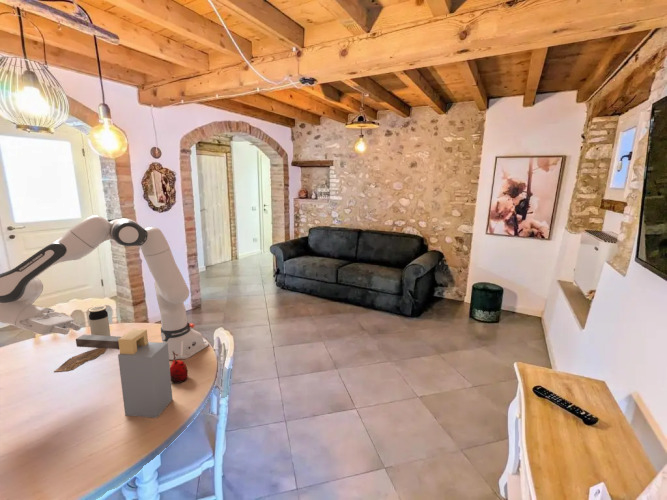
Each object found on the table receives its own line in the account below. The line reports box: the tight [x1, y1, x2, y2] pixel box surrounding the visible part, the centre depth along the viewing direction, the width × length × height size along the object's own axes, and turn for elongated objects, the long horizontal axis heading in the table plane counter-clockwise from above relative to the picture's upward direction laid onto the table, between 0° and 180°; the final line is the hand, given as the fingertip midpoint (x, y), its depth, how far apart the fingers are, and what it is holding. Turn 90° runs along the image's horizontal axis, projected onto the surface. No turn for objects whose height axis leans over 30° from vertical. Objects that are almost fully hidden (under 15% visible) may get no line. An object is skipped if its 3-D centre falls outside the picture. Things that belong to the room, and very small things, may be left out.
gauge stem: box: [75, 334, 122, 350], centre depth 117 cm, size 20×4×3 cm, turn 86°
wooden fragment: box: [53, 348, 108, 373], centre depth 153 cm, size 26×11×1 cm, turn 163°
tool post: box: [117, 328, 173, 419], centre depth 118 cm, size 12×10×30 cm
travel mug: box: [88, 305, 111, 336], centre depth 168 cm, size 8×8×18 cm
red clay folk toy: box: [170, 351, 189, 384], centre depth 137 cm, size 8×7×15 cm
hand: (74, 330), depth 123 cm, fingers open, 8 cm apart
